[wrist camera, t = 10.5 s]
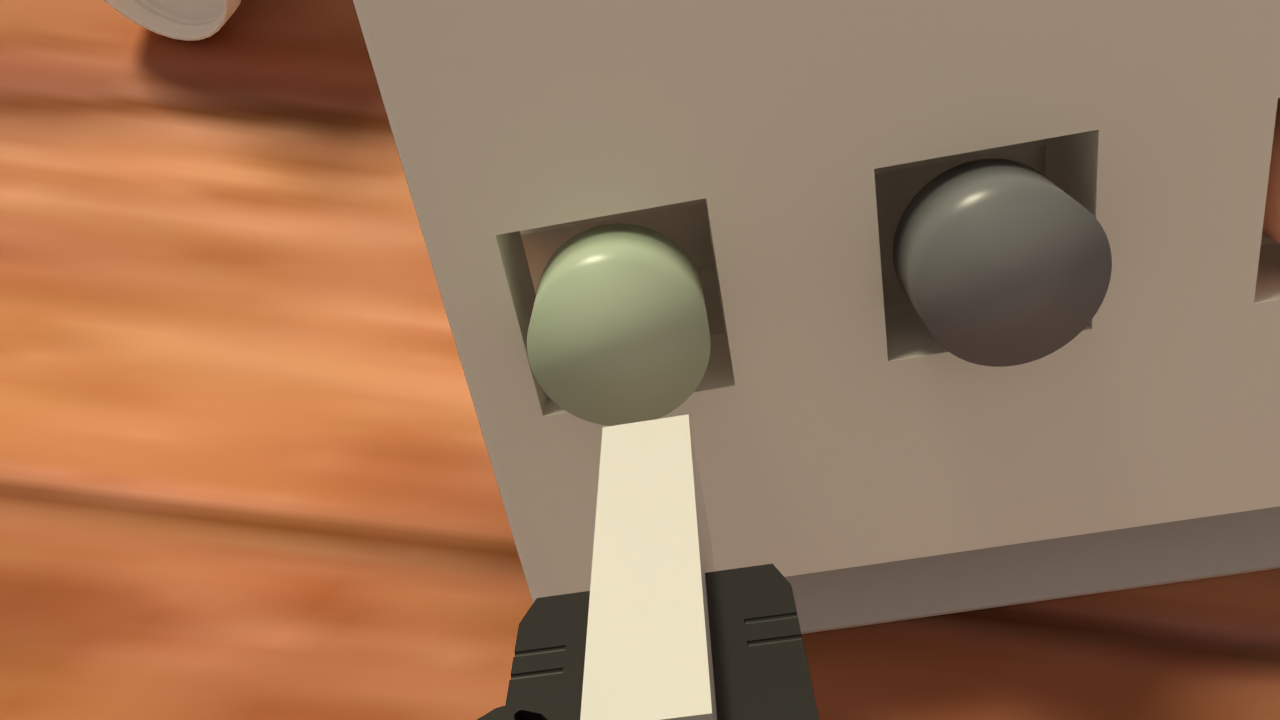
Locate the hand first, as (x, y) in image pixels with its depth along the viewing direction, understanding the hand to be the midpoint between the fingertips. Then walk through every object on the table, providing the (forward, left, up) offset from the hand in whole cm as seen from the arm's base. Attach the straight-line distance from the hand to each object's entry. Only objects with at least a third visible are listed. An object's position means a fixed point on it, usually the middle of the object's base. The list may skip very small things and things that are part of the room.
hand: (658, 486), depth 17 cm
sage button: (-1, +5, -6) cm, 8 cm away
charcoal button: (+8, +5, -6) cm, 11 cm away
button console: (+8, +7, -15) cm, 18 cm away
